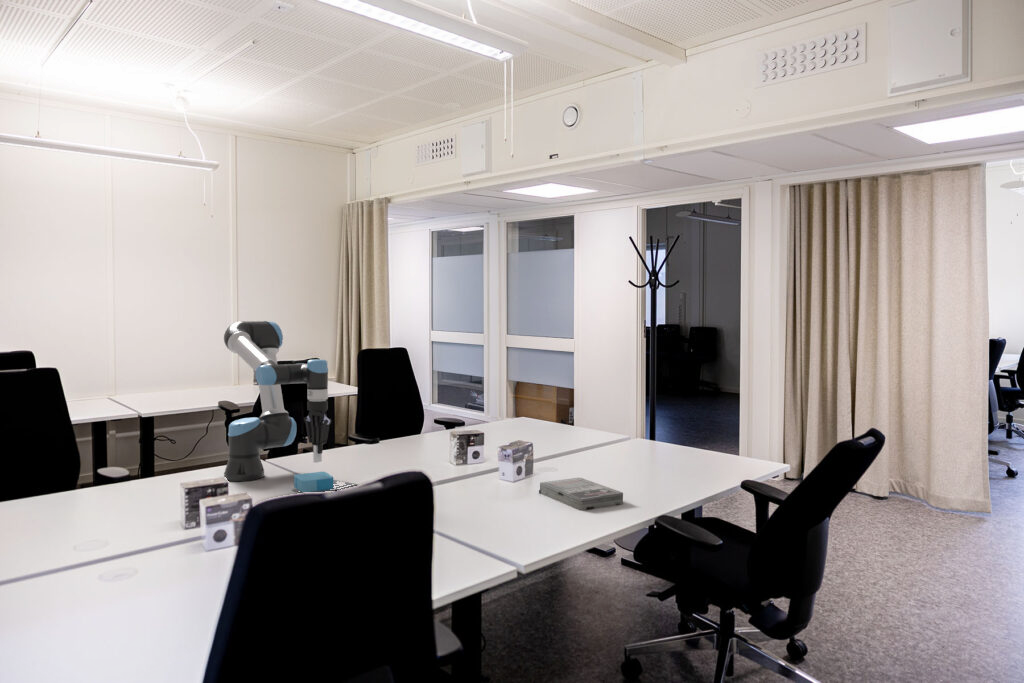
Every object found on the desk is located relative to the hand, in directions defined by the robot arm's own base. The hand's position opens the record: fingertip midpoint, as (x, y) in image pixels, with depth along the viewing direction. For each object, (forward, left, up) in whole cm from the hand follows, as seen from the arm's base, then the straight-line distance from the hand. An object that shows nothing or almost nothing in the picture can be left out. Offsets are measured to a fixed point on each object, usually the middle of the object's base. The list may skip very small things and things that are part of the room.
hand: (317, 461), depth 261 cm
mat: (+4, 0, -10) cm, 10 cm away
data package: (-4, -1, -7) cm, 8 cm away
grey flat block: (+91, +41, -10) cm, 100 cm away
